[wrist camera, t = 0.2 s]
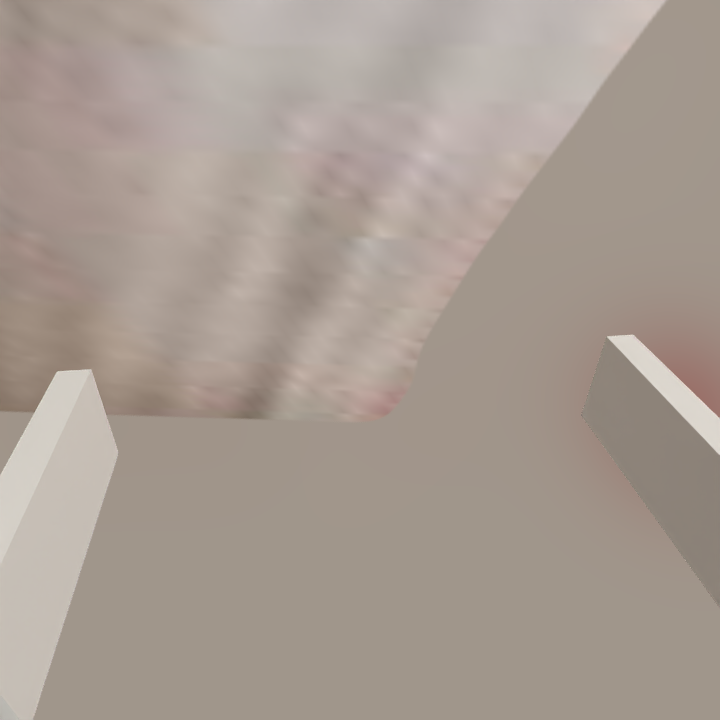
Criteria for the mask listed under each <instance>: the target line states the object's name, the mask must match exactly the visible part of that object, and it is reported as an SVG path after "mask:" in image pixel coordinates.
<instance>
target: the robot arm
mask: <svg viewBox="0 0 720 720" xmlns="http://www.w3.org/2000/svg"><path fill="white" fill-rule="evenodd" d="M581 416H582V417H583V418H584V420H585V421H586V423H587V424H588V426H589V427H590V428H591V430H592V431H593V432H594V434H595V435H596V437H597V438H598V439H599V441H600V442H601V444H602V445H603V446H604V448H605V449H606V451H607V452H608V453H609V455H610V456H611V457H612V459H613V460H614V462H615V463H616V464H617V466H618V467H619V469H620V470H621V471H622V473H623V474H624V476H625V477H626V478H627V480H628V481H629V482H630V484H631V485H632V487H633V488H634V489H635V491H636V492H637V494H638V495H639V496H640V498H641V499H642V500H643V502H644V503H645V505H646V506H647V507H648V509H649V510H650V512H651V513H652V514H653V516H654V517H655V519H656V520H657V521H658V523H659V524H660V526H661V527H662V528H663V530H664V531H665V532H666V534H667V535H668V537H669V538H670V539H671V541H672V542H673V544H674V545H675V546H676V548H677V549H678V551H679V552H680V553H681V555H682V556H683V558H684V559H685V560H686V562H687V563H688V564H689V566H690V567H691V569H692V570H693V571H694V573H695V574H696V575H697V577H698V578H699V580H700V581H701V582H702V584H703V585H704V587H705V588H706V589H707V591H708V592H709V594H710V595H711V596H712V598H713V599H714V601H715V602H716V603H717V605H718V606H719V607H720V418H718V416H717V415H716V414H714V413H713V412H712V411H711V410H710V409H709V408H708V407H707V406H706V405H705V404H704V403H703V402H702V401H701V400H700V399H699V398H698V397H697V396H696V395H695V394H694V393H693V392H692V391H691V390H690V389H689V388H688V387H687V386H685V384H684V383H682V382H681V381H680V380H679V379H678V378H677V377H676V376H675V375H674V374H673V373H672V372H671V371H670V370H669V369H668V368H667V367H666V366H665V365H664V364H663V363H662V362H661V361H660V360H659V359H658V358H657V357H656V356H655V355H654V354H653V353H652V352H650V351H649V350H648V349H647V348H646V347H645V346H644V345H643V344H642V343H641V342H640V341H639V340H638V339H637V338H636V337H635V336H634V335H621V336H607V337H606V340H605V343H604V346H603V349H602V352H601V355H600V358H599V361H598V364H597V368H596V371H595V374H594V377H593V380H592V383H591V386H590V389H589V392H588V395H587V399H586V402H585V405H584V408H583V411H582V414H581ZM117 456H118V450H117V447H116V444H115V441H114V438H113V434H112V431H111V429H110V425H109V422H108V419H107V416H106V413H105V410H104V407H103V404H102V401H101V398H100V395H99V392H98V389H97V386H96V383H95V380H94V377H93V374H92V371H91V369H88V370H72V371H57V373H56V374H55V376H54V378H53V380H52V382H51V384H50V385H49V387H48V389H47V391H46V393H45V395H44V396H43V398H42V400H41V402H40V404H39V405H38V407H37V409H36V411H35V413H34V415H33V416H32V418H31V420H30V422H29V424H28V426H27V428H26V429H25V431H24V433H23V435H22V436H21V438H20V440H19V442H18V444H17V446H16V447H15V449H14V451H13V453H12V455H11V457H10V458H9V460H8V462H7V464H6V466H5V468H4V469H3V471H2V473H1V475H0V720H33V717H34V714H35V711H36V708H37V705H38V702H39V699H40V696H41V693H42V689H43V686H44V683H45V680H46V677H47V674H48V671H49V667H50V664H51V661H52V658H53V655H54V652H55V649H56V646H57V643H58V640H59V636H60V634H61V630H62V627H63V624H64V621H65V618H66V615H67V612H68V609H69V606H70V603H71V599H72V596H73V593H74V590H75V587H76V584H77V581H78V578H79V574H80V571H81V568H82V565H83V562H84V559H85V556H86V553H87V550H88V547H89V544H90V540H91V537H92V534H93V531H94V528H95V525H96V521H97V519H98V516H99V512H100V509H101V506H102V503H103V500H104V497H105V494H106V491H107V488H108V485H109V481H110V478H111V475H112V472H113V469H114V466H115V463H116V460H117Z"/></svg>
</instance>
